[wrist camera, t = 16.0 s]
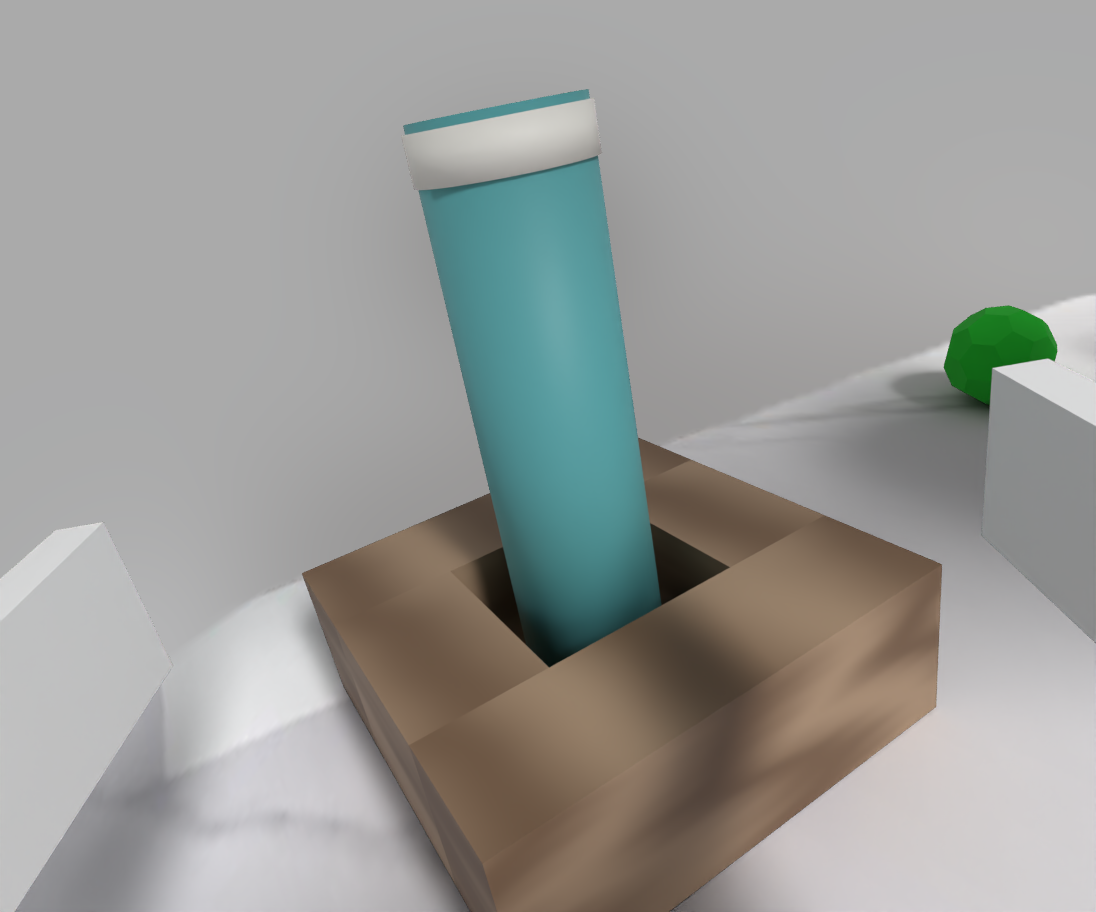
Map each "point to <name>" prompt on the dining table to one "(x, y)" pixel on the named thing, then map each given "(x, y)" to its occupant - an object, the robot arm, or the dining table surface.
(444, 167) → the peg
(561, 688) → the socket block
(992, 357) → the polyhedron
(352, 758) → the dining table surface
